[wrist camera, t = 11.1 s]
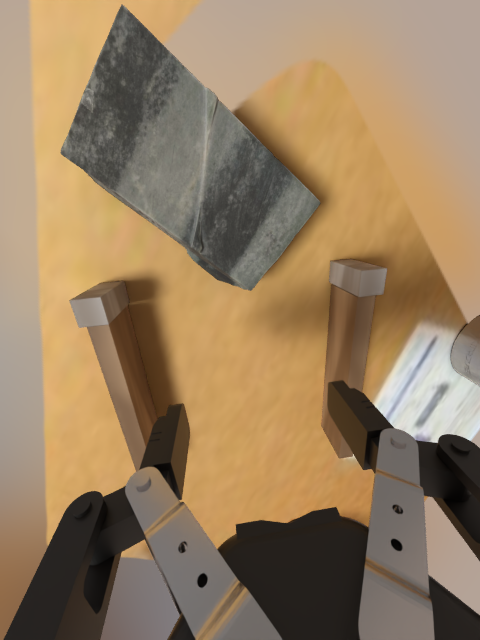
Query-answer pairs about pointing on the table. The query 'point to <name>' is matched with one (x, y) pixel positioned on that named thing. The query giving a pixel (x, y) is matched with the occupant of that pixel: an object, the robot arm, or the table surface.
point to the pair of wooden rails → (128, 371)
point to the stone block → (184, 159)
